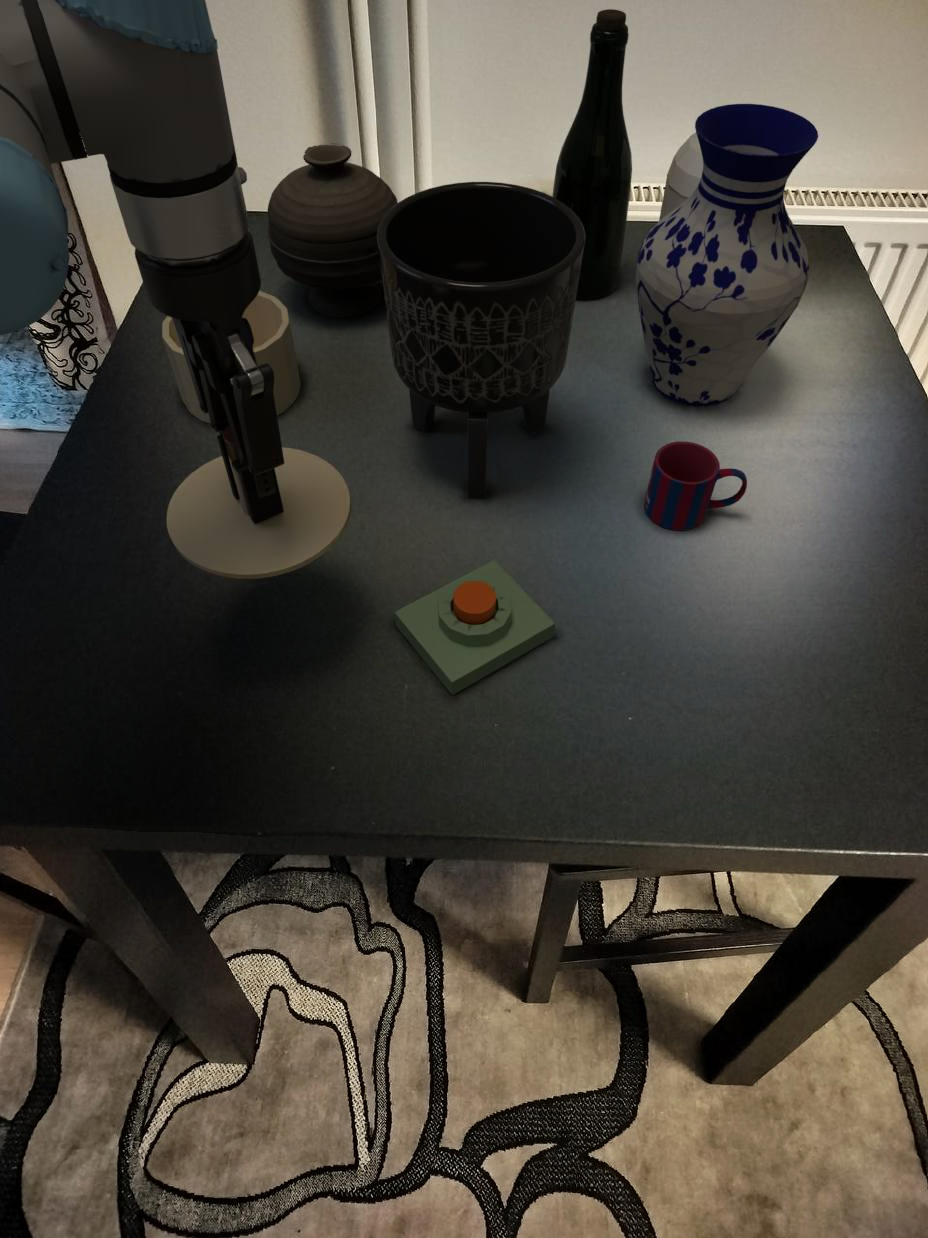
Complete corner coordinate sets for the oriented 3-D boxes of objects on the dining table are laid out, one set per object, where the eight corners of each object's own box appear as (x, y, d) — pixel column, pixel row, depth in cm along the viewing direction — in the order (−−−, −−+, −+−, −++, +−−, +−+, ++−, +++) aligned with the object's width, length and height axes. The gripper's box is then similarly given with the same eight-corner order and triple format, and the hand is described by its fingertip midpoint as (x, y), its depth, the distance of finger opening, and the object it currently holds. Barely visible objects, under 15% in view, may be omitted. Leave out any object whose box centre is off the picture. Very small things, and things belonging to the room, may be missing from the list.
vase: (725, 326, 116) (791, 80, 93) (798, 411, 105) (894, 156, 81) (595, 350, 113) (629, 101, 89) (656, 441, 102) (713, 184, 78)
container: (742, 304, 120) (784, 155, 104) (645, 293, 121) (672, 144, 106) (744, 255, 128) (783, 109, 112) (653, 245, 129) (679, 100, 114)
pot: (267, 266, 125) (253, 119, 109) (389, 261, 128) (392, 119, 113) (280, 339, 114) (266, 188, 98) (412, 332, 118) (419, 185, 102)
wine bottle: (617, 263, 126) (657, -3, 100) (618, 303, 120) (660, 30, 94) (546, 260, 127) (567, -6, 101) (542, 299, 120) (564, 26, 94)
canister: (213, 442, 102) (193, 375, 94) (164, 380, 109) (142, 313, 102) (321, 398, 107) (310, 331, 99) (268, 341, 114) (254, 275, 107)
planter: (361, 466, 99) (333, 247, 78) (452, 377, 109) (448, 163, 89) (508, 530, 93) (521, 310, 72) (590, 429, 103) (621, 211, 82)
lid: (216, 613, 68) (187, 531, 61) (142, 499, 76) (109, 415, 69) (385, 533, 73) (377, 450, 66) (299, 434, 81) (284, 350, 74)
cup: (648, 483, 97) (659, 436, 92) (738, 500, 96) (754, 453, 90) (639, 523, 93) (650, 477, 88) (732, 542, 92) (749, 495, 86)
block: (452, 695, 80) (451, 671, 77) (395, 625, 85) (392, 600, 82) (553, 636, 84) (557, 611, 81) (493, 573, 89) (494, 547, 86)
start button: (469, 631, 80) (469, 620, 78) (445, 604, 82) (445, 592, 80) (504, 612, 81) (504, 600, 80) (479, 586, 83) (479, 574, 82)
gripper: (302, 275, 52) (342, 541, 71) (196, 174, 60) (257, 437, 79) (187, 313, 50) (259, 580, 68) (92, 203, 58) (180, 468, 76)
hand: (258, 503), depth 73 cm, fingers closed on lid, 3 cm apart
